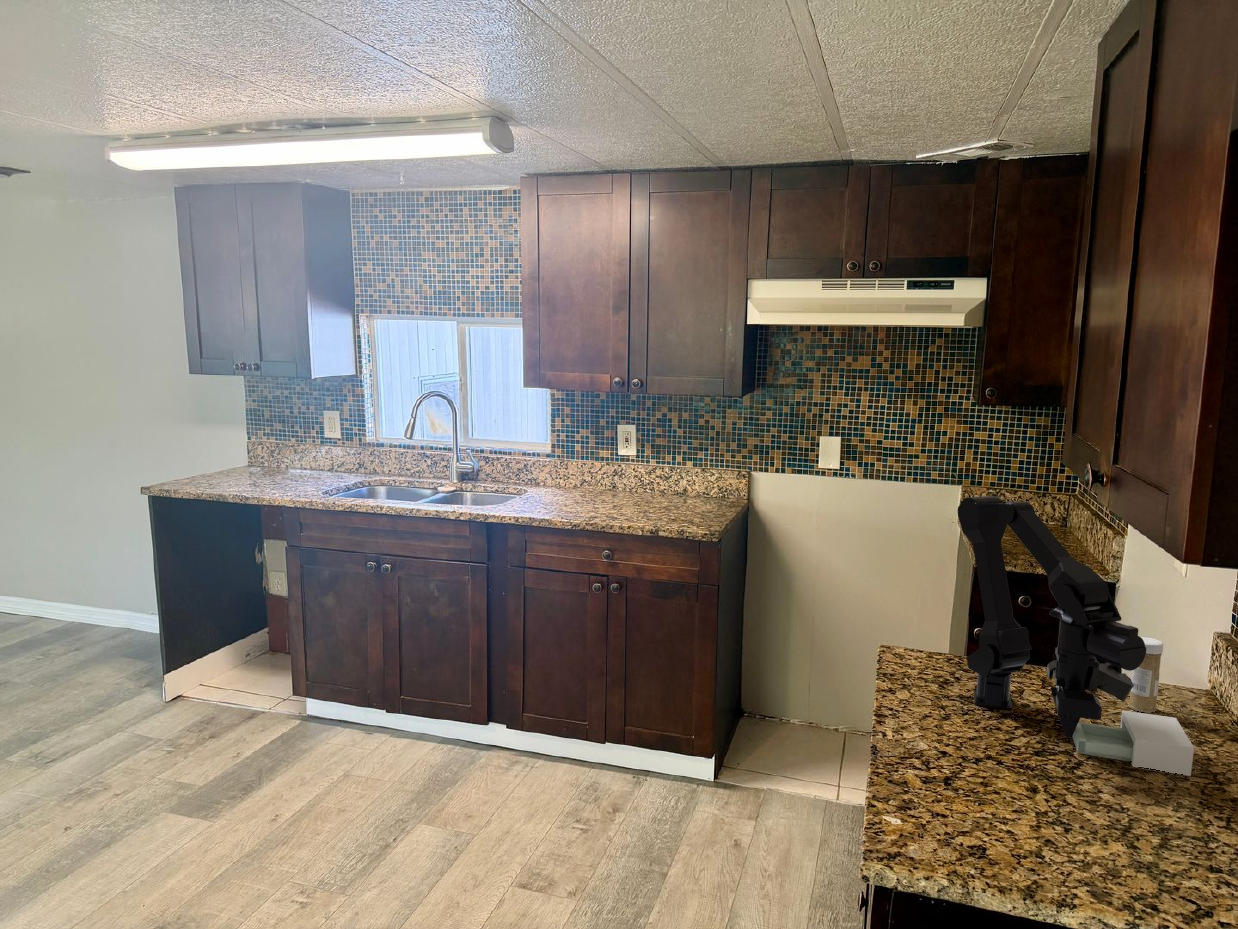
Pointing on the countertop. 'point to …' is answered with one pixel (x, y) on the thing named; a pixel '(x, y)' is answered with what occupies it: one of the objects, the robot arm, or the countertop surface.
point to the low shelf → (1158, 742)
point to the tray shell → (1103, 741)
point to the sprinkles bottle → (1146, 678)
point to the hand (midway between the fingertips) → (1068, 736)
